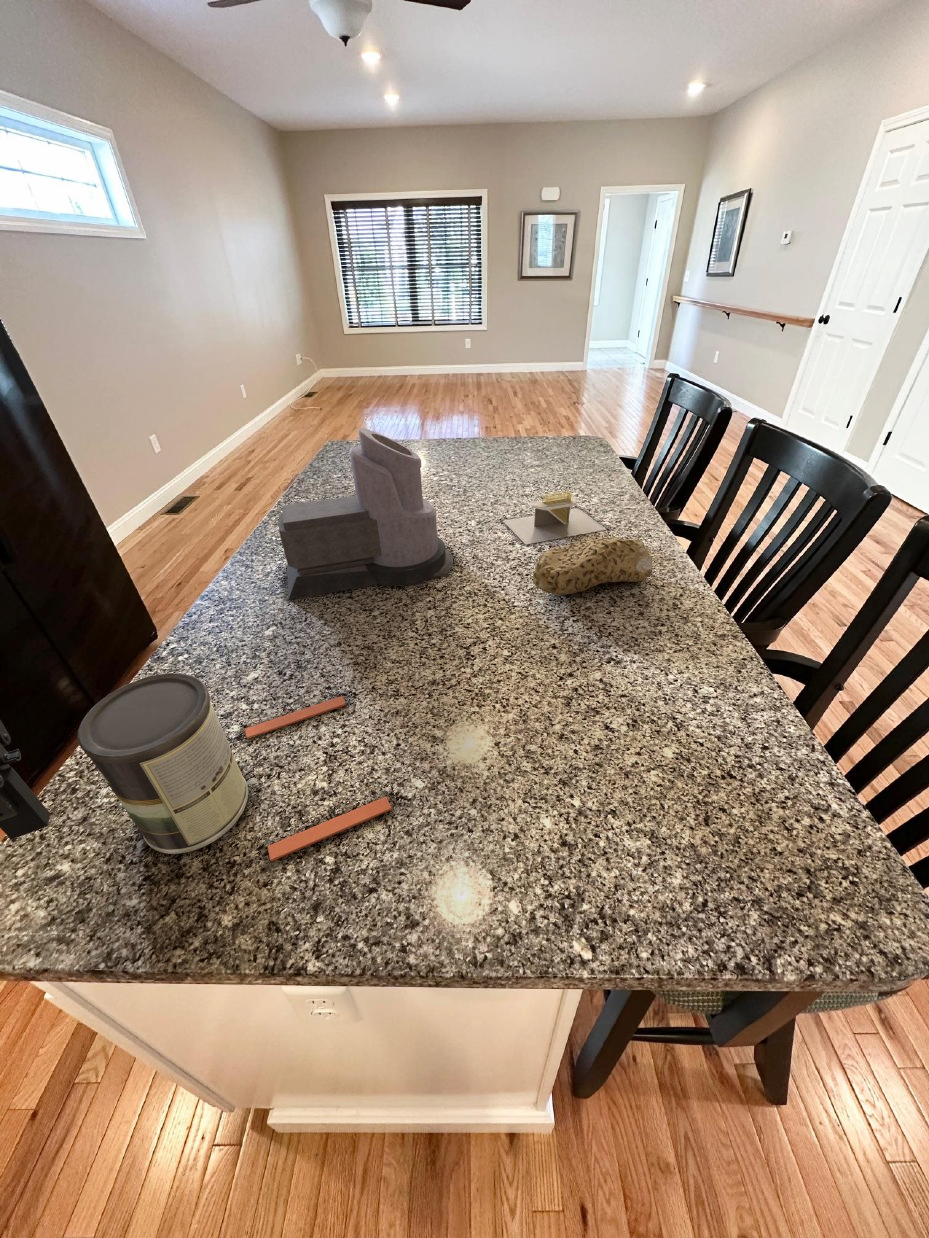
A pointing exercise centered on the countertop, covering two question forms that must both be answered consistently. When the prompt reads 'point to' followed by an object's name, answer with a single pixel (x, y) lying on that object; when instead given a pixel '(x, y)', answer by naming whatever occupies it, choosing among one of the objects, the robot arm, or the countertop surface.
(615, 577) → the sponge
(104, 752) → the coffee can
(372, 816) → the strips
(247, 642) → the countertop surface
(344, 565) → the machine
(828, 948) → the countertop surface
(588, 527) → the platform
